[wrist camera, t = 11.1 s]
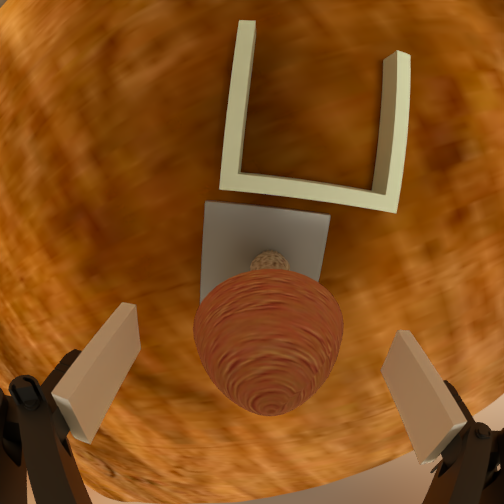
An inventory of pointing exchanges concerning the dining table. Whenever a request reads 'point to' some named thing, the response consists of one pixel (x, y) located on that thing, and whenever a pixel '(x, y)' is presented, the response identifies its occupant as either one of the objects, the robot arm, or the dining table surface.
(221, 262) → the coaster
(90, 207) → the dining table surface
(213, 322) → the mushroom
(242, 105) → the cream u-shaped piece
